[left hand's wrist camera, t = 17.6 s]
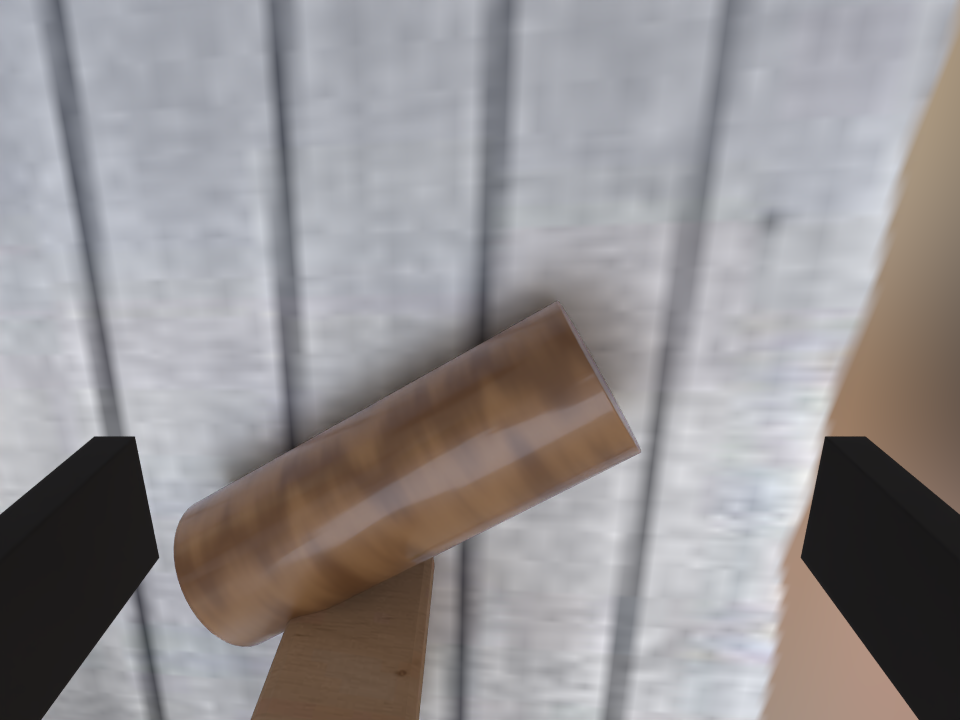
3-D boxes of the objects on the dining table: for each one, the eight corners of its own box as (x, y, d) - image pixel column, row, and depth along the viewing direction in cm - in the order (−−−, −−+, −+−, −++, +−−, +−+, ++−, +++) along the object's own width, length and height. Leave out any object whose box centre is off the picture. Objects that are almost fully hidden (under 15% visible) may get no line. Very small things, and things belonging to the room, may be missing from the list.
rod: (541, 273, 32) (626, 431, 28) (580, 335, 40) (651, 465, 36) (161, 490, 36) (189, 653, 32) (263, 508, 44) (296, 641, 40)
